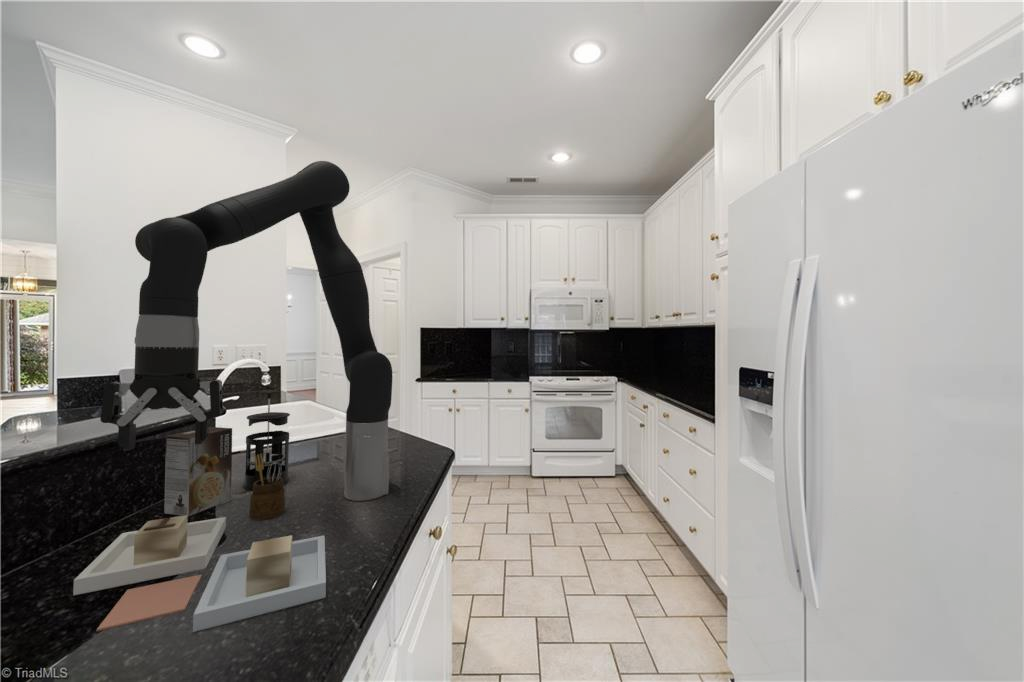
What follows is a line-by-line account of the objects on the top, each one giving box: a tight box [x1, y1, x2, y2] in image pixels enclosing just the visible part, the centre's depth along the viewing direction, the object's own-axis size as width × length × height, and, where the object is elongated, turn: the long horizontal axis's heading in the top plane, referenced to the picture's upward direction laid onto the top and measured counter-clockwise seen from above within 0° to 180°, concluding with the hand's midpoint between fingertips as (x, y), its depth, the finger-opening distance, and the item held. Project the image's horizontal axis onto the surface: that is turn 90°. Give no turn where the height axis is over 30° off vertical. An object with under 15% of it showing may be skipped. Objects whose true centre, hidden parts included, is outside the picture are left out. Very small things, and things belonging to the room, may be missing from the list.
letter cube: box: [134, 515, 189, 565], centre depth 60 cm, size 5×5×5 cm
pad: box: [96, 574, 203, 632], centre depth 49 cm, size 8×8×1 cm
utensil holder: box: [249, 454, 286, 521], centre depth 75 cm, size 6×6×12 cm
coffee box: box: [163, 426, 233, 517], centre depth 78 cm, size 9×6×16 cm
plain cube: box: [246, 535, 293, 597], centre depth 54 cm, size 5×5×5 cm
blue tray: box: [192, 535, 327, 633], centre depth 54 cm, size 14×14×3 cm
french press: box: [242, 389, 291, 492], centre depth 93 cm, size 12×9×23 cm
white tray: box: [72, 516, 227, 596], centre depth 60 cm, size 14×14×3 cm
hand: (165, 446), depth 60 cm, fingers open, 8 cm apart
